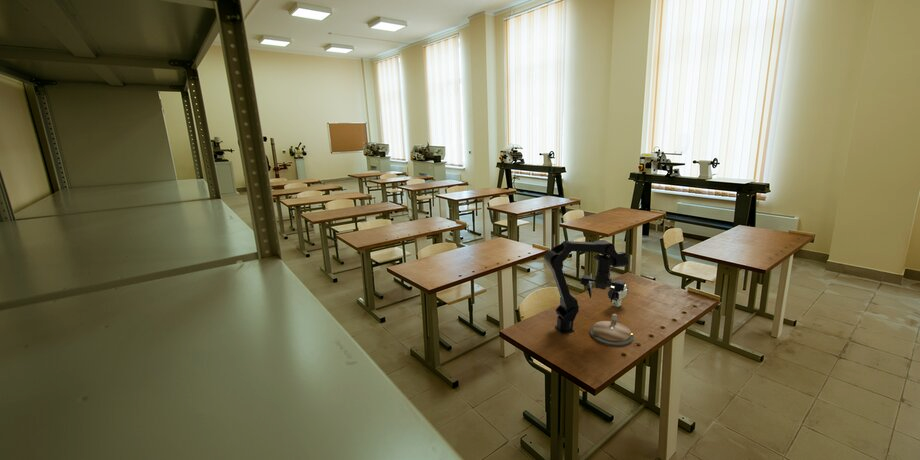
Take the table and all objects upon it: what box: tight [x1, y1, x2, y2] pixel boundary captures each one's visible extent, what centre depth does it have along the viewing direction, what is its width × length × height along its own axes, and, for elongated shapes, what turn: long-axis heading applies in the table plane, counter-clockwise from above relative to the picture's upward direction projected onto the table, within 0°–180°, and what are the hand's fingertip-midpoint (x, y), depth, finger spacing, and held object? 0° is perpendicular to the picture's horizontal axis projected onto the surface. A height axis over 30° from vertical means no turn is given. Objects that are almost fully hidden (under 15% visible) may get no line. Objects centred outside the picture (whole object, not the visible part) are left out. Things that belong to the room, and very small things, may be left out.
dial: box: [592, 313, 632, 342], centre depth 172 cm, size 16×16×5 cm
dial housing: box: [589, 325, 634, 347], centre depth 173 cm, size 18×18×1 cm
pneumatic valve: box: [607, 283, 629, 308], centre depth 198 cm, size 6×12×12 cm, turn 129°
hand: (600, 299), depth 179 cm, fingers open, 9 cm apart
